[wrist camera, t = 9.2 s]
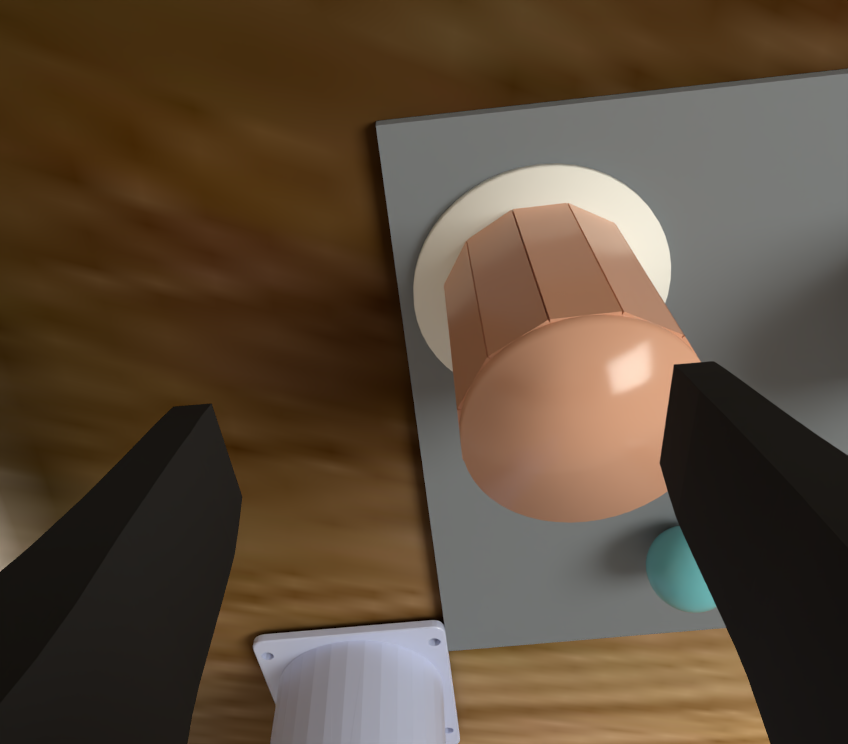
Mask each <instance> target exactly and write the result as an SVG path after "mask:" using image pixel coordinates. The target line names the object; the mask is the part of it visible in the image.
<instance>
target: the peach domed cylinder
mask: <svg viewBox="0 0 848 744" xmlns="http://www.w3.org/2000/svg"><path fill="white" fill-rule="evenodd" d="M444 291H445V301H446V310H447V320H448V329H449V338H450V348H451V357H452V367H453V376H454V386H455V395H456V405H457V414H458V423H459V432H460V442H461V451H462V459H463V461H464V462H465V464H466V467H467V470H468V472H469V473H470V475H471V477H472V478H473V480H474V482H475V483H476V484H477V485H478V486H479V488H480V489H481V490H482V491H483V492H484V493H485V494H486V495H488V496H489V497H490V498H491V499H492V500H494V501H495V502H497V503H498V504H500V505H501V506H503V507H505V508H507V509H509V510H511V511H513V512H515V513H518V514H521V515H524V516H526V517H530V518H534V519H539V520H544V521H551V522H567V523H573V522H588V521H595V520H601V519H605V518H610V517H614V516H617V515H621V514H624V513H627V512H630V511H632V510H634V509H637V508H639V507H641V506H644V505H646V504H648V503H649V502H651V501H653V500H655V499H657V498H658V497H660V496H661V495H663V494H664V493H666V492H667V487H666V484H665V480H664V477H663V473H662V470H661V467H660V456H661V449H662V442H663V436H664V429H665V422H666V415H667V408H668V401H669V394H670V387H671V380H672V374H673V367H674V364H686V363H697V362H701V361H700V359H699V358H698V356H697V355H696V353H695V351H694V350H693V348H692V346H691V345H690V343H689V342H688V340H687V338H686V337H685V335H684V334H683V332H682V330H681V329H680V327H679V325H678V324H677V322H676V321H675V319H674V317H673V316H672V314H671V313H670V311H669V309H668V308H667V306H666V304H665V303H664V301H663V300H662V298H661V296H660V295H659V293H658V292H657V290H656V288H655V287H654V285H653V283H652V282H651V280H650V279H649V277H648V275H647V274H646V272H645V271H644V269H643V267H642V266H641V264H640V262H639V261H638V259H637V258H636V256H635V254H634V253H633V251H632V250H631V248H630V246H629V245H628V243H627V242H626V240H625V238H624V237H623V235H622V233H621V232H620V230H619V229H618V227H617V225H616V224H615V223H614V222H611V221H609V220H607V219H605V218H602V217H600V216H598V215H595V214H593V213H591V212H588V211H586V210H584V209H581V208H579V207H577V206H574V205H572V204H570V203H568V204H567V203H560V204H552V205H543V206H535V207H526V208H518V209H513V211H512V210H510V211H509V212H507V213H506V214H504V215H503V216H501V217H500V218H498V219H497V220H495V221H494V222H492V223H491V224H489V225H488V226H486V227H485V228H484V229H482V230H481V231H479V232H478V233H476V234H475V235H473V236H472V237H470V238H469V239H467V241H466V242H465V244H464V246H463V248H462V250H461V252H460V254H459V256H458V258H457V260H456V262H455V264H454V266H453V268H452V270H451V271H450V273H449V275H448V277H447V279H446V281H445V283H444Z"/></svg>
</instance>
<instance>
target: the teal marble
mask: <svg viewBox="0 0 848 744" xmlns="http://www.w3.org/2000/svg"><path fill="white" fill-rule="evenodd" d="M646 573H647V577H648V580H649V582H650V585H651V587H652V588H653V590H654V591H655V593H656V594H657V595H658V596H659V598H661V599H662V600H663V601H664V602H665V603H666V604H668V605H670V606H671V607H673V608H675V609H678V610H680V611H684V612H689V613H701V612H706V611H710V610H712V609H714V608H716V604H715V602H714V600H713V598H712V596H711V594H710V591H709V589H708V587H707V585H706V583H705V581H704V579H703V576H702V574H701V572H700V570H699V568H698V566H697V563H696V561H695V559H694V557H693V555H692V553H691V550H690V548H689V546H688V544H687V542H686V539H685V537H684V535H683V533H682V530H681V528H680V526H675V527H672V528H669V529H667V530H665V531H664V532H662V533H661V534H659V535H658V536H657V537H656V538H655V540H654V541H653V542H652V544H651V545H650V548H649V550H648V553H647V557H646Z"/></svg>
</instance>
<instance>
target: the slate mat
mask: <svg viewBox="0 0 848 744" xmlns="http://www.w3.org/2000/svg"><path fill="white" fill-rule="evenodd" d="M376 131H377V138H378V145H379V153H380V160H381V167H382V174H383V182H384V189H385V196H386V204H387V211H388V218H389V225H390V233H391V240H392V247H393V254H394V262H395V269H396V276H397V284H398V291H399V298H400V305H401V313H402V320H403V327H404V334H405V342H406V349H407V356H408V364H409V371H410V378H411V385H412V393H413V400H414V407H415V414H416V422H417V429H418V436H419V444H420V451H421V458H422V465H423V473H424V480H425V487H426V494H427V502H428V509H429V516H430V524H431V531H432V538H433V545H434V553H435V560H436V567H437V574H438V582H439V589H440V596H441V603H442V611H443V618H444V625H445V633H446V640H447V647H448V651H455V650H467V649H479V648H491V647H503V646H514V645H526V644H538V643H550V642H562V641H574V640H586V639H598V638H610V637H622V636H634V635H646V634H658V633H669V632H681V631H693V630H705V629H717V628H726V626H725V624H724V622H723V619H722V617H721V615H720V613H719V611H718V609H717V607H716V608H714V609H712V610H710V611H706V612H701V613H689V612H684V611H680V610H678V609H675V608H673V607H671V606H670V605H668V604H666V603H665V602H664V601H663V600H662V599H661V598H659V596H658V595H657V594H656V593H655V591H654V590H653V588H652V587H651V585H650V582H649V580H648V577H647V573H646V557H647V553H648V550H649V548H650V545H651V544H652V542H653V541H654V540H655V538H656V537H657V536H658V535H659V534H661V533H662V532H664V531H665V530H667V529H669V528H672V527H675V526H679V524H678V521H677V519H676V516H675V513H674V510H673V506H672V503H671V500H670V497H669V494H668V491H667V492H666V493H664V494H663V495H661V496H660V497H658V498H657V499H655V500H653V501H651V502H649V503H648V504H646V505H644V506H641V507H639V508H637V509H634V510H632V511H630V512H627V513H624V514H621V515H617V516H614V517H610V518H605V519H601V520H595V521H588V522H573V523H567V522H551V521H544V520H539V519H534V518H530V517H526V516H524V515H521V514H518V513H515V512H513V511H511V510H509V509H507V508H505V507H503V506H501V505H500V504H498V503H497V502H495V501H494V500H492V499H491V498H490V497H489V496H488V495H486V494H485V493H484V492H483V491H482V490H481V489H480V488H479V486H478V485H477V484H476V483H475V482H474V480H473V478H472V477H471V475H470V473H469V472H468V470H467V467H466V464H465V462H464V461H463V459H462V451H461V442H460V432H459V423H458V414H457V405H456V395H455V386H454V376H453V367H452V357H451V348H450V338H449V329H448V320H447V310H446V301H445V291H444V283H445V281H446V279H447V277H448V275H449V273H450V271H451V270H452V268H453V266H454V264H455V262H456V260H457V258H458V256H459V254H460V252H461V250H462V248H463V246H464V244H465V242H466V241H467V239H469V238H470V237H472V236H473V235H475V234H476V233H478V232H479V231H481V230H482V229H484V228H485V227H486V226H488V225H489V224H491V223H492V222H494V221H495V220H497V219H498V218H500V217H501V216H503V215H504V214H506V213H507V212H509V211H510V210H512V211H513V209H518V208H526V207H535V206H543V205H552V204H560V203H567V204H568V203H570V204H572V205H574V206H577V207H579V208H581V209H584V210H586V211H588V212H591V213H593V214H595V215H598V216H600V217H602V218H605V219H607V220H609V221H611V222H614V223H615V224H616V225H617V227H618V229H619V230H620V232H621V233H622V235H623V237H624V238H625V240H626V242H627V243H628V245H629V246H630V248H631V250H632V251H633V253H634V254H635V256H636V258H637V259H638V261H639V262H640V264H641V266H642V267H643V269H644V271H645V272H646V274H647V275H648V277H649V279H650V280H651V282H652V283H653V285H654V287H655V288H656V290H657V292H658V293H659V295H660V296H661V298H662V300H663V301H664V303H665V304H666V306H667V308H668V309H669V311H670V313H671V314H672V316H673V317H674V319H675V321H676V322H677V324H678V325H679V327H680V329H681V330H682V332H683V334H684V335H685V337H686V338H687V340H688V342H689V343H690V345H691V346H692V348H693V350H694V351H695V353H696V355H697V356H698V358H699V359H700V361H701V362H709V361H714V362H716V363H717V364H719V365H720V366H722V367H723V368H725V369H726V370H728V371H729V372H731V373H732V374H733V375H735V376H736V377H738V378H739V379H740V380H742V381H743V382H744V383H746V384H747V385H749V386H750V387H751V388H753V389H754V390H755V391H757V392H758V393H759V394H761V395H762V396H764V397H765V398H766V399H768V400H769V401H770V402H772V403H773V404H775V405H776V406H777V407H779V408H780V409H781V410H783V411H784V412H786V413H787V414H788V415H790V416H791V417H793V418H794V419H795V420H797V421H798V422H800V423H801V424H803V425H804V426H805V427H807V428H808V429H810V430H811V431H813V432H814V433H815V434H817V435H818V436H820V437H821V438H823V439H824V440H826V441H827V442H829V443H830V444H832V445H833V446H835V447H836V448H838V449H839V450H841V451H842V452H844V453H845V454H847V455H848V69H841V70H832V71H823V72H814V73H805V74H796V75H787V76H778V77H769V78H760V79H751V80H742V81H733V82H724V83H715V84H706V85H697V86H688V87H679V88H670V89H661V90H652V91H643V92H634V93H625V94H616V95H607V96H598V97H589V98H580V99H571V100H562V101H553V102H544V103H535V104H526V105H517V106H508V107H499V108H490V109H481V110H472V111H463V112H454V113H445V114H436V115H427V116H418V117H409V118H400V119H391V120H382V121H376Z"/></svg>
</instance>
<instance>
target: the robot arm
mask: <svg viewBox="0 0 848 744" xmlns="http://www.w3.org/2000/svg"><path fill="white" fill-rule="evenodd" d="M660 467H661V470H662V473H663V477H664V480H665V484H666V487H667V491H668V494H669V497H670V500H671V503H672V506H673V510H674V513H675V516H676V519H677V521H678V524H679V526H680V528H681V530H682V533H683V535H684V537H685V539H686V542H687V544H688V546H689V548H690V550H691V553H692V555H693V557H694V559H695V561H696V563H697V566H698V568H699V570H700V572H701V574H702V576H703V579H704V581H705V583H706V585H707V587H708V589H709V591H710V594H711V596H712V598H713V600H714V602H715V604H716V607H717V609H718V611H719V613H720V615H721V617H722V619H723V622H724V624H725V626H726V628H727V630H728V632H729V635H730V637H731V639H732V641H733V643H734V645H735V648H736V650H737V652H738V655H739V657H740V660H741V662H742V665H743V667H744V669H745V672H746V674H747V677H748V680H749V682H750V685H751V688H752V691H753V694H754V697H755V700H756V703H757V706H758V709H759V711H760V714H761V717H762V720H763V723H764V726H765V729H766V732H767V735H768V737H769V740H770V743H771V744H848V455H847V454H845V453H844V452H842V451H841V450H839V449H838V448H836V447H835V446H833V445H832V444H830V443H829V442H827V441H826V440H824V439H823V438H821V437H820V436H818V435H817V434H815V433H814V432H813V431H811V430H810V429H808V428H807V427H805V426H804V425H803V424H801V423H800V422H798V421H797V420H795V419H794V418H793V417H791V416H790V415H788V414H787V413H786V412H784V411H783V410H781V409H780V408H779V407H777V406H776V405H775V404H773V403H772V402H770V401H769V400H768V399H766V398H765V397H764V396H762V395H761V394H759V393H758V392H757V391H755V390H754V389H753V388H751V387H750V386H749V385H747V384H746V383H744V382H743V381H742V380H740V379H739V378H738V377H736V376H735V375H733V374H732V373H731V372H729V371H728V370H726V369H725V368H723V367H722V366H720V365H719V364H717V363H716V362H714V361H709V362H697V363H686V364H674V367H673V374H672V380H671V387H670V394H669V401H668V408H667V415H666V422H665V429H664V436H663V442H662V449H661V456H660ZM241 502H242V495H241V492H240V489H239V486H238V483H237V480H236V477H235V474H234V471H233V468H232V464H231V461H230V458H229V455H228V452H227V449H226V446H225V443H224V440H223V437H222V434H221V431H220V428H219V425H218V422H217V419H216V416H215V413H214V410H213V407H212V404H201V405H189V406H177V407H173V408H172V409H171V410H169V411H168V412H167V413H166V414H165V415H164V416H163V417H162V418H161V419H160V420H159V421H158V422H157V423H156V424H155V425H154V426H153V427H152V428H151V429H150V430H149V431H148V432H147V433H146V434H145V435H144V436H143V437H142V438H141V440H140V441H139V442H138V443H137V444H136V445H135V446H134V447H133V448H132V449H131V450H130V451H129V452H128V453H127V454H126V455H125V456H124V457H123V458H122V459H121V460H120V461H119V462H118V463H117V464H116V465H115V466H114V467H113V468H112V469H111V470H110V471H109V472H108V473H107V474H106V475H105V476H104V477H103V478H102V479H101V480H100V481H99V482H98V483H97V484H96V485H95V486H94V487H93V488H92V489H91V490H90V491H89V492H88V493H87V494H86V495H85V496H84V497H83V498H82V499H81V500H80V501H79V502H78V503H77V504H76V505H75V506H74V507H72V508H71V509H70V510H69V511H68V512H67V513H66V514H65V515H64V516H63V517H62V518H61V519H59V520H58V521H57V522H56V523H55V524H54V525H53V526H52V527H51V528H50V529H49V530H48V531H46V532H45V533H44V534H43V535H42V536H41V537H40V538H39V539H38V540H37V541H36V542H35V543H33V544H32V545H31V546H30V547H29V548H28V549H27V550H26V551H24V552H23V553H22V554H21V555H20V556H19V557H17V558H16V559H15V560H14V561H13V562H11V563H10V564H9V565H8V566H7V567H5V568H4V569H3V570H2V571H1V572H0V744H187V742H188V736H189V730H190V725H191V719H192V714H193V709H194V705H195V701H196V696H197V692H198V688H199V684H200V680H201V676H202V673H203V669H204V666H205V662H206V658H207V655H208V651H209V647H210V644H211V640H212V637H213V633H214V629H215V626H216V622H217V618H218V615H219V611H220V608H221V604H222V600H223V597H224V593H225V589H226V585H227V582H228V578H229V574H230V570H231V567H232V563H233V559H234V555H235V548H236V541H237V535H238V528H239V519H240V511H241ZM253 650H254V653H255V655H256V658H257V660H258V663H259V665H260V668H261V670H262V673H263V675H264V677H265V680H266V682H267V685H268V687H269V690H270V692H271V695H272V697H273V700H274V702H275V705H276V708H275V714H274V721H273V728H272V734H271V741H270V744H458V743H459V742H460V733H459V726H458V718H457V711H456V704H455V696H454V689H453V682H452V675H451V667H450V660H449V653H448V647H447V640H446V633H445V626H444V624H443V623H442V622H440V621H438V620H424V621H413V622H401V623H389V624H377V625H366V626H354V627H342V628H331V629H319V630H307V631H296V632H284V633H272V634H263V635H259V636H257V637H256V638H255V639H254V643H253Z"/></svg>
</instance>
